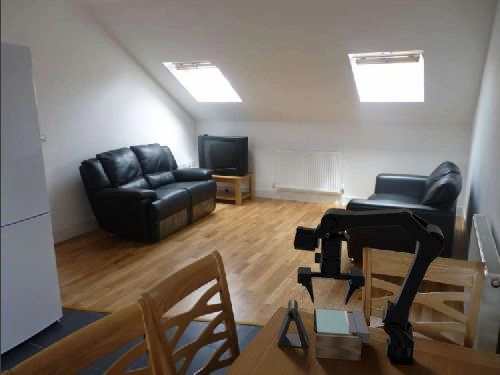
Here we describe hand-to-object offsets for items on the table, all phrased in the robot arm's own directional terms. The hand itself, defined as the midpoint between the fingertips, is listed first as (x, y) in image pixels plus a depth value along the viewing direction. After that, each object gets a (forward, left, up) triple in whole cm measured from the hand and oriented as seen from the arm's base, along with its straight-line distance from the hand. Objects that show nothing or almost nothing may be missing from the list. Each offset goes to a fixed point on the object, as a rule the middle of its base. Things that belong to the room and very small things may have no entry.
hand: (329, 303), depth 113 cm
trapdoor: (-3, 0, -8) cm, 9 cm away
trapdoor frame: (-2, 0, -13) cm, 13 cm away
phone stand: (+10, 0, -13) cm, 17 cm away
